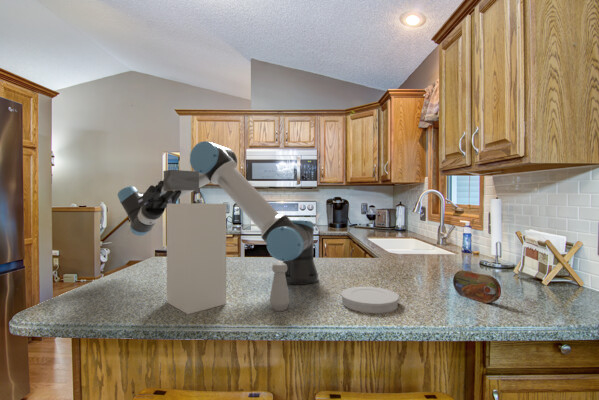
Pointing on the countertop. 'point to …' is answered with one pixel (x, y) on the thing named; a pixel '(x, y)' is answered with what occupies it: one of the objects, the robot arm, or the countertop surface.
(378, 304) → the lid
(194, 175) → the panel with wooden post
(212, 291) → the pedestal
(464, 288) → the tin
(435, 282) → the countertop surface
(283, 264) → the salt shaker
